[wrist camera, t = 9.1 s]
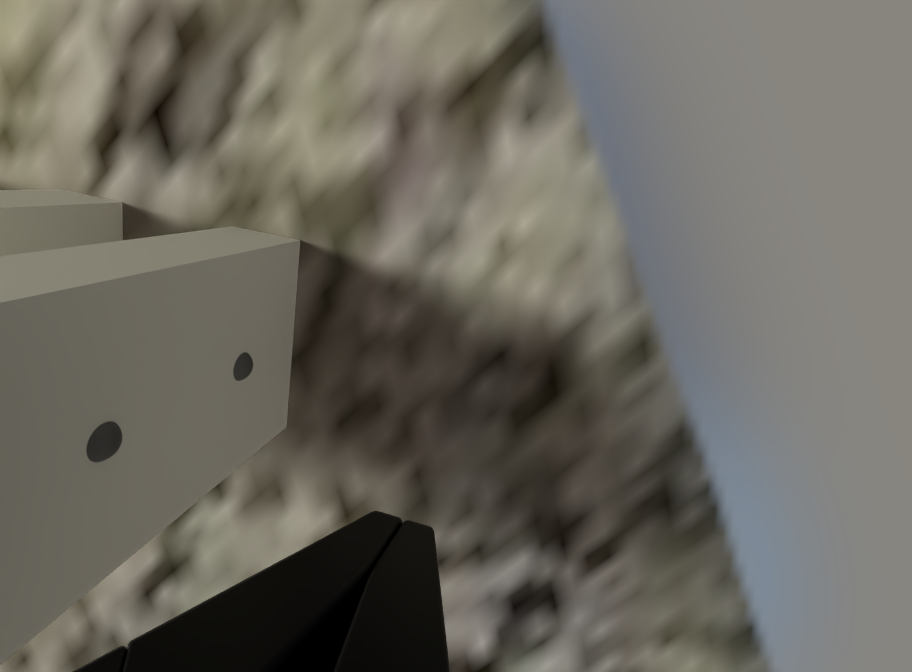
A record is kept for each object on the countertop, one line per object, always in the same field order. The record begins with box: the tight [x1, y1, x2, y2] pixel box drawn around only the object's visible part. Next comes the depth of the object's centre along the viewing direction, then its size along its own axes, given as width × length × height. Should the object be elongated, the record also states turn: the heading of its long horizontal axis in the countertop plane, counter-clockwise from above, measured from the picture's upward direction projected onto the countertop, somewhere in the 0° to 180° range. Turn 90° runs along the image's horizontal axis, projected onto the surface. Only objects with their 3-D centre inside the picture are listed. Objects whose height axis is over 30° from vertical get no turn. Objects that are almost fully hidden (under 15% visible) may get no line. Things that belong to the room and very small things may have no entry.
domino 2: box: [0, 226, 300, 665], centre depth 10 cm, size 5×2×8 cm, turn 171°
